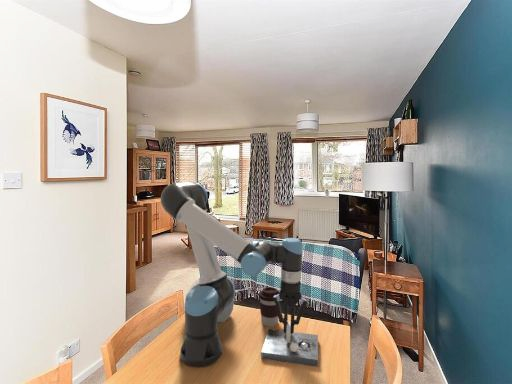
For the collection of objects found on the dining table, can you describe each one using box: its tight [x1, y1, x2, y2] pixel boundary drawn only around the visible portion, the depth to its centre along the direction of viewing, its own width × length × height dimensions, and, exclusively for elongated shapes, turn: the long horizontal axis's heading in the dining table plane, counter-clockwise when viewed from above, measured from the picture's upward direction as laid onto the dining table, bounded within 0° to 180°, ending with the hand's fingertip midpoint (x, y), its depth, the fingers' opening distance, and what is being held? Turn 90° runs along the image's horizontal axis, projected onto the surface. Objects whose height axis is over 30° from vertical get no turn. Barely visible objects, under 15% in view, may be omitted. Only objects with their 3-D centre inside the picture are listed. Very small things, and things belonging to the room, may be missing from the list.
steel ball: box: [300, 343, 309, 349], centre depth 111 cm, size 3×3×3 cm
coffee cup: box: [258, 286, 281, 327], centre depth 131 cm, size 10×10×15 cm
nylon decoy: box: [290, 343, 298, 352], centre depth 107 cm, size 3×3×3 cm
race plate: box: [260, 328, 319, 368], centre depth 112 cm, size 20×16×2 cm
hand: (288, 340), depth 112 cm, fingers closed
